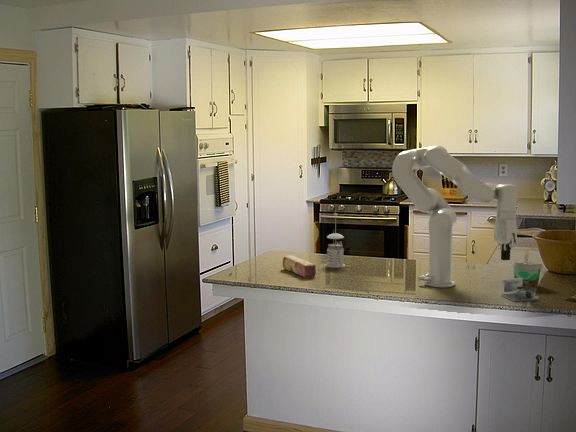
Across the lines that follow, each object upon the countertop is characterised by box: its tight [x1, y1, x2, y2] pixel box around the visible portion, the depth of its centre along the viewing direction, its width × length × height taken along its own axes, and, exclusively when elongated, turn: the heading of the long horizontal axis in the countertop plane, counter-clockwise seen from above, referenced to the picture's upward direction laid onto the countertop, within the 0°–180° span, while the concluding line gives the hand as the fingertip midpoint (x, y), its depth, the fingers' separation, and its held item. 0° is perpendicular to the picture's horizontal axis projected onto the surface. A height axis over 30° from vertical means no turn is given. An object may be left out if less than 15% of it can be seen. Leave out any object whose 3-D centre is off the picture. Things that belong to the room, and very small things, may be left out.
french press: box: [324, 212, 346, 268], centre depth 334 cm, size 10×12×25 cm
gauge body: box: [501, 290, 540, 303], centre depth 278 cm, size 11×9×3 cm
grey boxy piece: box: [501, 277, 533, 296], centre depth 280 cm, size 10×9×5 cm
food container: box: [511, 260, 544, 289], centre depth 296 cm, size 12×6×10 cm, turn 69°
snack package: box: [282, 254, 317, 279], centre depth 320 cm, size 21×7×7 cm, turn 28°
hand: (505, 259), depth 288 cm, fingers closed
